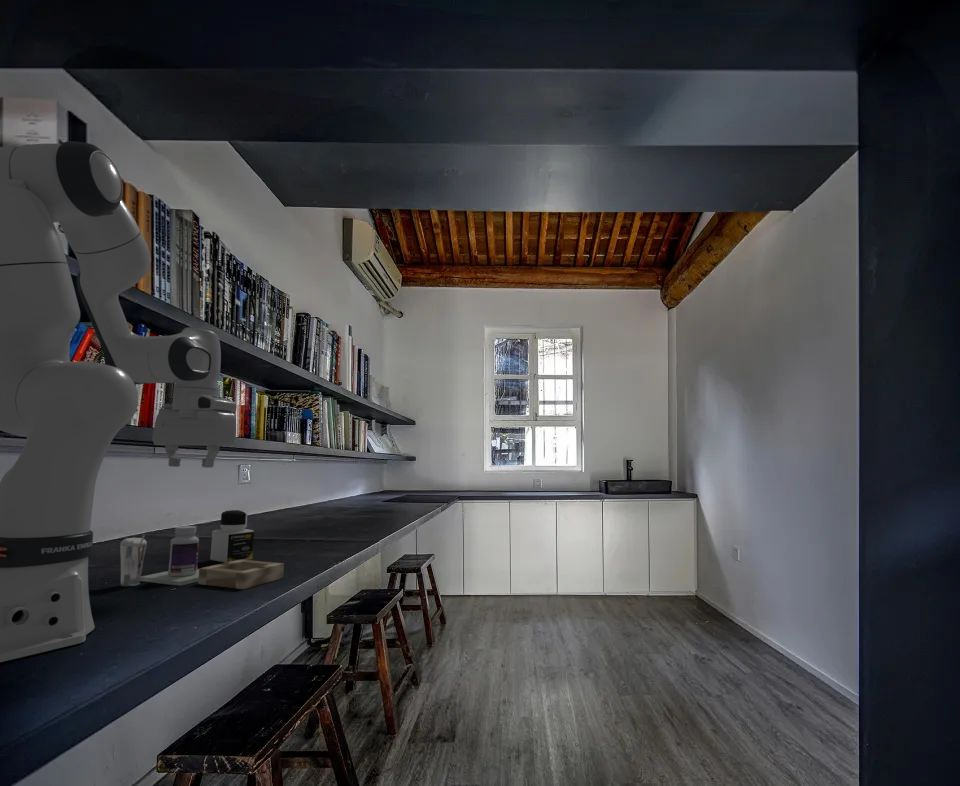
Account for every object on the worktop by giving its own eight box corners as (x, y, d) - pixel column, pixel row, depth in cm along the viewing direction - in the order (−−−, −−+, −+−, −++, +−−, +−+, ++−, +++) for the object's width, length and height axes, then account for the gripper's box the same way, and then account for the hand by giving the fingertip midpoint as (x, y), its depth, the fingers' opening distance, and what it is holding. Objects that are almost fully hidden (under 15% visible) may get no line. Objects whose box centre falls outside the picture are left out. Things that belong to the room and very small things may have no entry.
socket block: (243, 589, 110) (244, 572, 110) (198, 583, 114) (199, 567, 114) (283, 578, 121) (284, 562, 121) (240, 573, 125) (241, 558, 125)
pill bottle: (201, 573, 120) (204, 526, 121) (175, 578, 115) (179, 529, 116) (189, 570, 123) (192, 524, 124) (163, 574, 118) (166, 527, 120)
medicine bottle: (227, 563, 136) (230, 512, 137) (209, 560, 140) (213, 510, 141) (253, 559, 142) (255, 510, 143) (235, 556, 146) (238, 508, 147)
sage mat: (180, 585, 112) (180, 581, 112) (139, 580, 116) (139, 576, 116) (222, 575, 122) (223, 571, 122) (184, 571, 126) (184, 567, 126)
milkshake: (128, 588, 109) (132, 535, 110) (111, 585, 111) (116, 533, 112) (151, 584, 113) (155, 533, 114) (134, 581, 115) (138, 531, 116)
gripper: (147, 402, 124) (142, 466, 123) (220, 400, 117) (215, 468, 115) (172, 405, 130) (167, 466, 128) (242, 403, 123) (238, 467, 121)
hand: (190, 467), depth 122 cm, fingers open, 8 cm apart
